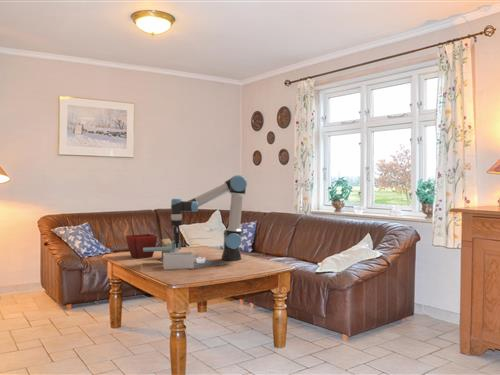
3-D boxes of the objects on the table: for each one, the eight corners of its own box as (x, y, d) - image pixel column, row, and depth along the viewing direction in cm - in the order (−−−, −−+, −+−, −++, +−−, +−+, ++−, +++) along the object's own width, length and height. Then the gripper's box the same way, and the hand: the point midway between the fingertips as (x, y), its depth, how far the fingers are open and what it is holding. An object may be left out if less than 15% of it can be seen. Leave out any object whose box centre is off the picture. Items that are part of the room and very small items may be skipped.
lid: (179, 247, 332) (179, 239, 332) (181, 250, 320) (181, 242, 320) (143, 249, 326) (143, 240, 326) (143, 251, 313) (143, 243, 313)
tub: (191, 265, 316) (191, 251, 316) (193, 269, 305) (193, 254, 305) (163, 267, 311) (163, 252, 311) (164, 270, 300) (164, 255, 300)
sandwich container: (175, 260, 337) (174, 241, 337) (161, 258, 347) (161, 239, 346) (183, 259, 344) (183, 239, 344) (169, 257, 353) (169, 238, 353)
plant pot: (125, 256, 356) (125, 235, 355) (148, 254, 367) (148, 233, 367) (134, 259, 340) (134, 237, 340) (158, 257, 351) (157, 236, 351)
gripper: (170, 218, 332) (170, 250, 333) (172, 220, 316) (172, 253, 316) (180, 218, 334) (180, 249, 335) (182, 220, 318) (182, 253, 318)
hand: (176, 251), depth 325 cm, fingers closed on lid, 4 cm apart
